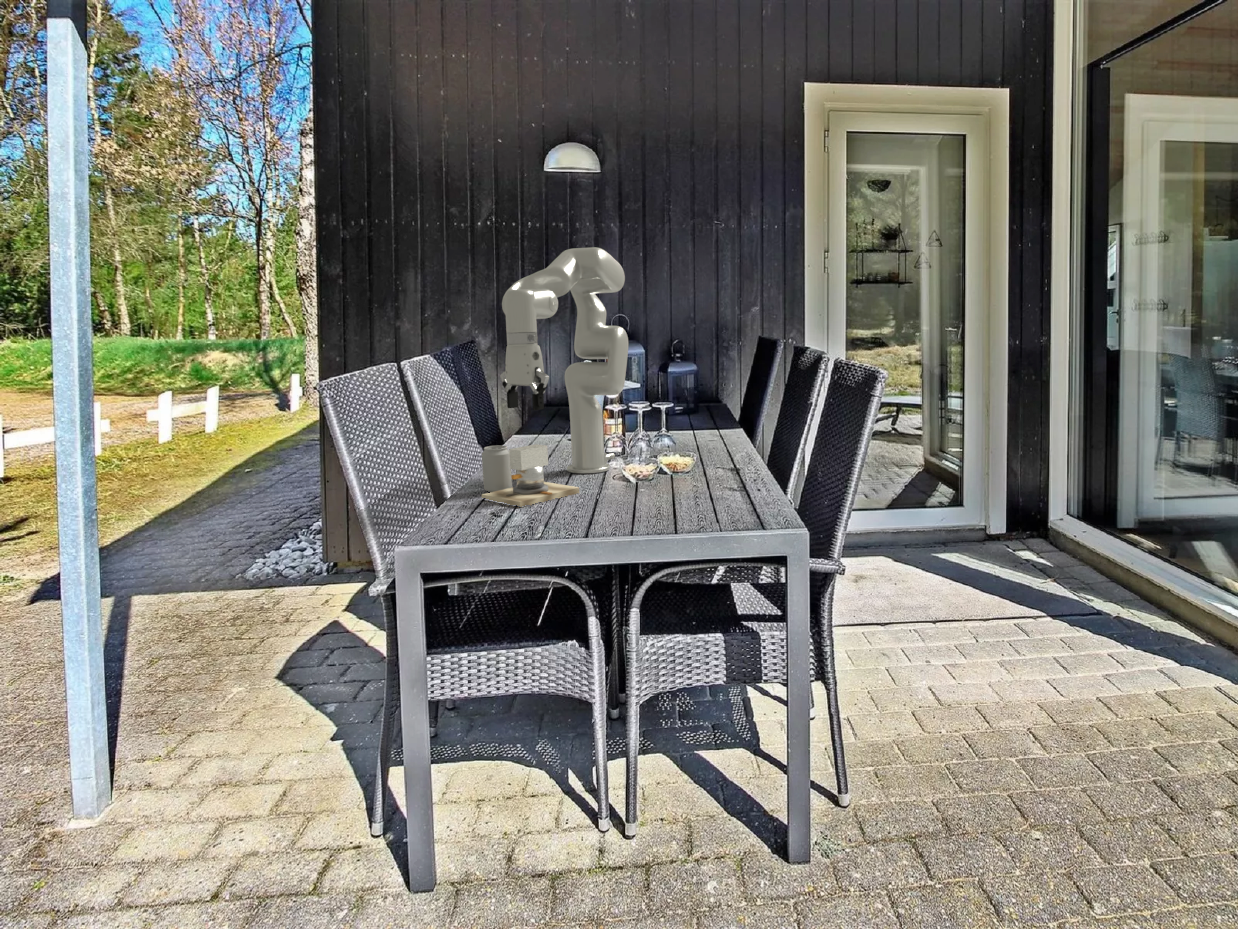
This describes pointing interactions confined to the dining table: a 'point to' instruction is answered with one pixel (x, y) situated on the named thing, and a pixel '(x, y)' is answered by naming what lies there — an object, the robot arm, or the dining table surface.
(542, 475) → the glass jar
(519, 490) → the base plate
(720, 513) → the dining table surface
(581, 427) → the robot arm
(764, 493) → the dining table surface
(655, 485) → the dining table surface
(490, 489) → the can
